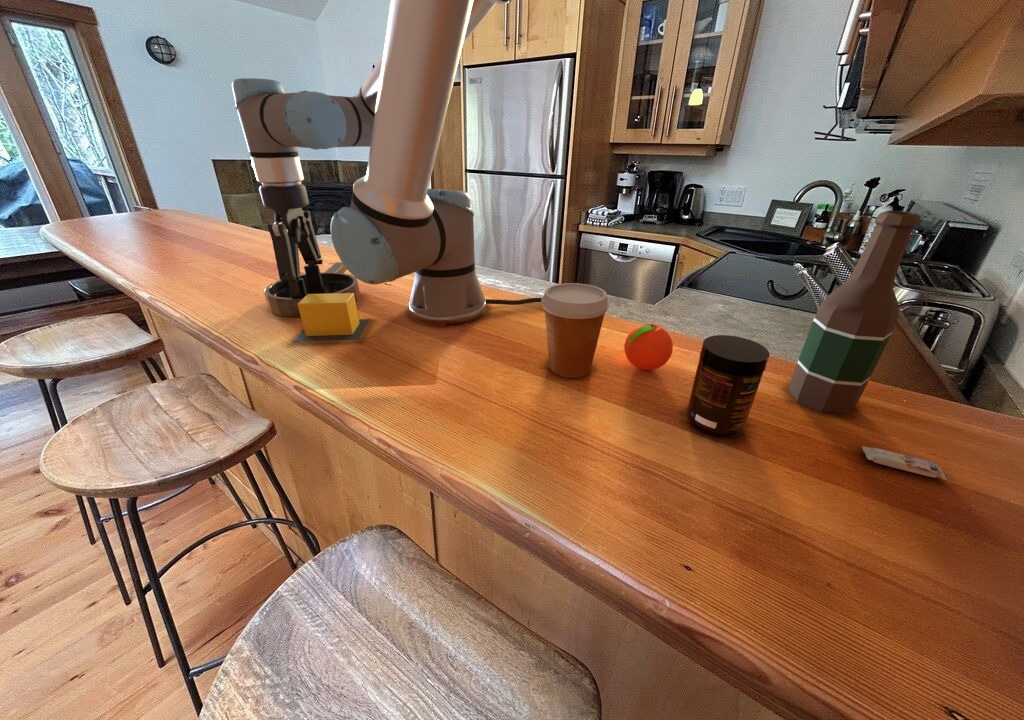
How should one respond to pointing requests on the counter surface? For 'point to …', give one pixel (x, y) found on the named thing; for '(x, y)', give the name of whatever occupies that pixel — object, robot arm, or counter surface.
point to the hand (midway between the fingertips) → (311, 302)
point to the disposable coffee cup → (573, 326)
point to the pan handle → (337, 268)
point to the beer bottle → (854, 323)
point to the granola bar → (904, 462)
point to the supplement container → (725, 384)
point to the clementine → (648, 346)
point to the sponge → (329, 314)
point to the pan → (288, 306)
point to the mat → (355, 336)
